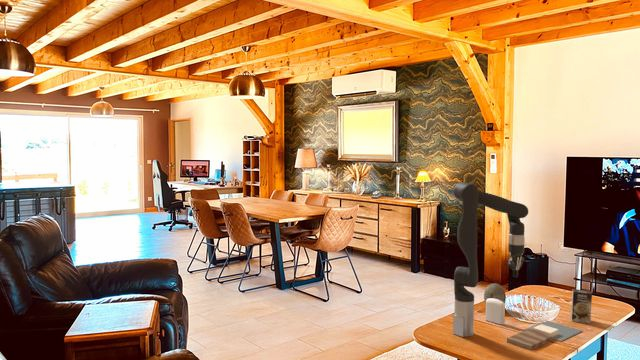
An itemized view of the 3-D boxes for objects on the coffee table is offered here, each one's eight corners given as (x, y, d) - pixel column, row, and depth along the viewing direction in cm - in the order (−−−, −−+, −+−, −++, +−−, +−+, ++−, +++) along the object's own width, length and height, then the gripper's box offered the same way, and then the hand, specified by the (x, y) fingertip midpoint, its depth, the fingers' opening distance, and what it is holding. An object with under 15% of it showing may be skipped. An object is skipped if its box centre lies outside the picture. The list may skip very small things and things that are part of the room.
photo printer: (483, 320, 277) (484, 297, 276) (488, 318, 280) (489, 296, 279) (501, 325, 269) (502, 302, 268) (505, 323, 272) (506, 300, 271)
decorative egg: (502, 314, 287) (503, 287, 286) (481, 310, 293) (481, 284, 292) (507, 308, 297) (508, 282, 296) (486, 304, 303) (487, 279, 302)
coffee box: (571, 321, 276) (572, 291, 275) (570, 317, 282) (572, 288, 281) (590, 323, 273) (592, 293, 271) (589, 320, 278) (590, 290, 277)
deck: (530, 350, 238) (530, 346, 238) (506, 342, 247) (507, 338, 247) (552, 340, 250) (552, 335, 250) (529, 332, 260) (529, 328, 259)
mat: (560, 341, 248) (560, 340, 248) (523, 330, 263) (523, 329, 263) (582, 331, 262) (582, 330, 262) (546, 321, 277) (546, 320, 276)
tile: (550, 338, 251) (550, 333, 251) (532, 332, 259) (532, 327, 258) (558, 334, 256) (558, 329, 256) (541, 329, 263) (541, 324, 263)
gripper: (516, 245, 254) (514, 280, 255) (530, 242, 262) (529, 276, 263) (502, 243, 259) (501, 277, 261) (516, 240, 268) (515, 273, 269)
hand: (515, 277), depth 262 cm, fingers closed
